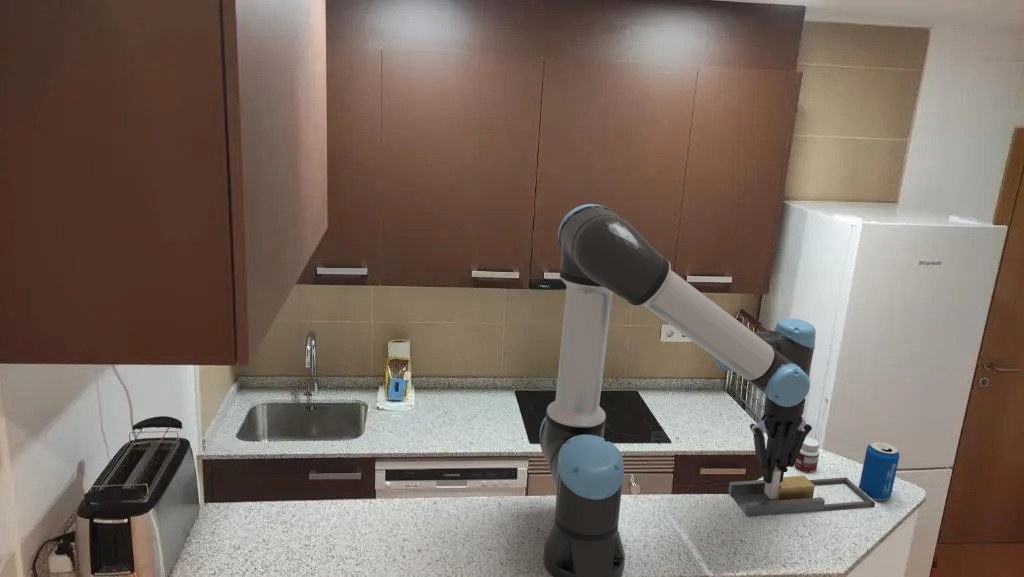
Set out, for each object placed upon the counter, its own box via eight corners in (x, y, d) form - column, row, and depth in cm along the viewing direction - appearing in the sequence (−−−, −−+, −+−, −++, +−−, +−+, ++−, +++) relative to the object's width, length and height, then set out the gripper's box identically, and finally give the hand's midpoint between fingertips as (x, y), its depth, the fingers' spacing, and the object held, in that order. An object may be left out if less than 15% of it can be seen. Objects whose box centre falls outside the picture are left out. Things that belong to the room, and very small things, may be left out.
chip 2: (794, 505, 151) (797, 487, 149) (784, 494, 154) (787, 476, 153) (811, 504, 151) (814, 485, 150) (801, 493, 155) (804, 475, 154)
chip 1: (777, 506, 150) (780, 488, 149) (767, 496, 154) (770, 477, 152) (794, 505, 151) (797, 486, 149) (784, 494, 154) (787, 476, 153)
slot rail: (747, 522, 147) (749, 506, 145) (727, 498, 155) (729, 482, 154) (821, 517, 150) (824, 500, 148) (798, 493, 158) (801, 477, 157)
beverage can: (872, 504, 155) (882, 455, 151) (851, 488, 161) (861, 440, 157) (897, 500, 156) (907, 452, 153) (875, 484, 162) (885, 437, 159)
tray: (821, 517, 150) (823, 506, 149) (796, 490, 159) (797, 480, 158) (872, 513, 152) (875, 502, 151) (844, 487, 161) (846, 477, 160)
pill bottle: (791, 467, 169) (796, 435, 166) (812, 469, 168) (817, 437, 166) (796, 477, 164) (801, 445, 162) (817, 480, 164) (823, 447, 161)
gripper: (765, 403, 140) (750, 507, 147) (825, 400, 142) (808, 503, 149) (747, 387, 147) (733, 487, 154) (804, 384, 149) (788, 483, 156)
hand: (770, 495), depth 151 cm, fingers closed
